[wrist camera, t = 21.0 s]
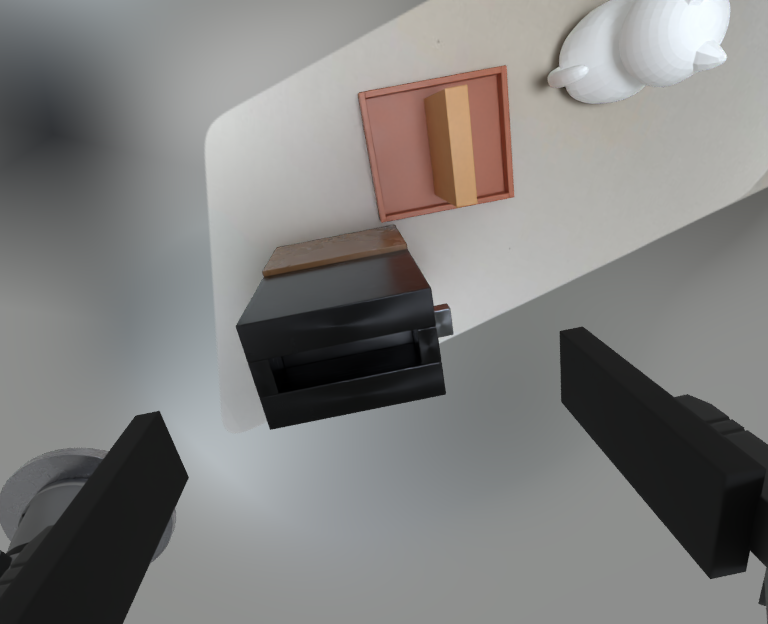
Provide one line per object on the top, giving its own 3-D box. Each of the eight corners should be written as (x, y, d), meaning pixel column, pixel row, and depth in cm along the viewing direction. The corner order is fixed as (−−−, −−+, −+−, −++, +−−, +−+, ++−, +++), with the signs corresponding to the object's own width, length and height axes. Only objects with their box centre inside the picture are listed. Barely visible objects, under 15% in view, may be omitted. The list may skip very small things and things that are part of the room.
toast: (423, 98, 46) (444, 88, 37) (442, 95, 46) (467, 84, 37) (435, 195, 50) (456, 207, 40) (452, 191, 50) (477, 203, 40)
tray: (379, 219, 51) (381, 222, 49) (357, 94, 46) (358, 92, 44) (507, 195, 51) (514, 197, 49) (499, 68, 46) (506, 65, 44)
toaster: (297, 324, 55) (271, 435, 34) (276, 247, 51) (233, 319, 30) (421, 300, 55) (469, 395, 34) (409, 221, 51) (455, 276, 31)
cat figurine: (651, 77, 48) (778, 52, 34) (545, 132, 49) (626, 130, 35) (631, -12, 44) (763, -81, 31) (518, 49, 46) (596, 9, 32)
